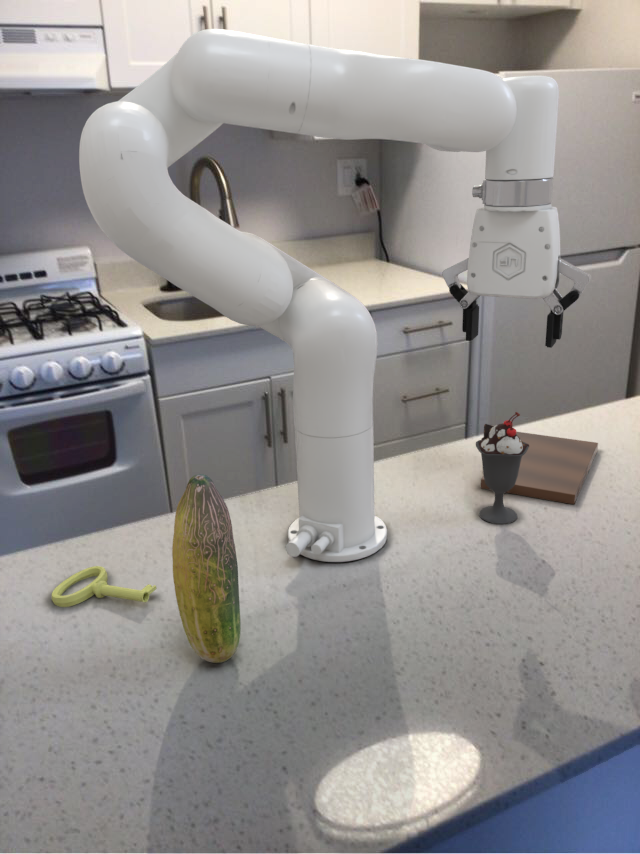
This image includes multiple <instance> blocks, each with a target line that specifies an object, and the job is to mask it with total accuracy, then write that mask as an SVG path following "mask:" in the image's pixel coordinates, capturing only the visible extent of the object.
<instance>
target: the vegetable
mask: <svg viewBox="0 0 640 854" xmlns="http://www.w3.org/2000/svg"><path fill="white" fill-rule="evenodd" d="M229 511H230V510H229V508H228V506H227V504H226V502H225V499H224V498H223V496H222V495H221V494H220V492H219V491H218V489H217V487H216V485H215V483H214V481H213V480H212V479H211V477H210V476H208V475H206V474H204V473H199V474H195V475H193V476H192V477H190V478H189V480H188V482H187V484H186V487H185V490H184V491H183V494H182V496H180V499H179V500H178V503H177V506H176V511H175V516H174V524H173V537H172V545H171V557H172V578H173V585H174V594H175V598H176V604H177V608H178V612H179V617H180V620H181V624H182V628H183V630H184V634H185V636H186V639H187V641H188V644H189V646H190V647H191V649H192V650H193V652H194V653H195V654H196V655H197V656H198V657H199V658H201V659H202V660H203V661H206V662H208V663H215V664H220V663H224V662H227V661H229V659H231V658H232V657H233V656H234V655H235V653H236V651H237V650H238V647H239V644H240V641H241V606H240V605H241V604H240V588H239V586H240V585H239V567H238V557H237V550H236V544H235V539H234V531H233V524H232V519H231V516H230V512H229Z"/></svg>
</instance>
